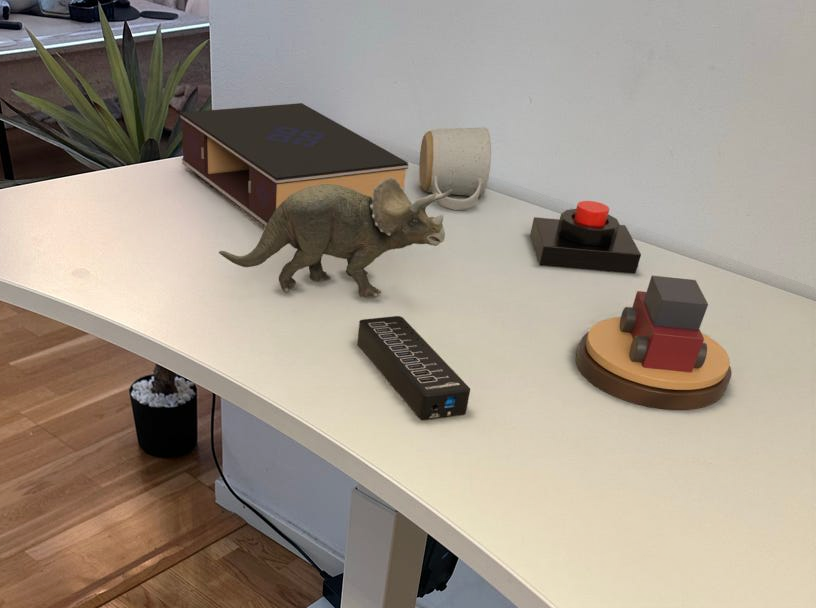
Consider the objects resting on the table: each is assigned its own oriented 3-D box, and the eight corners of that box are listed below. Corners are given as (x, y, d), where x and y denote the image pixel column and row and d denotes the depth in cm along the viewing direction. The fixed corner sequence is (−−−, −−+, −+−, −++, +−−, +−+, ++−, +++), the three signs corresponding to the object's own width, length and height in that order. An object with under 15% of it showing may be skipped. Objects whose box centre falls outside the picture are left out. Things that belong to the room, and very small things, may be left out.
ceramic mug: (414, 181, 120) (422, 116, 115) (474, 183, 121) (485, 120, 115) (426, 211, 113) (435, 144, 107) (490, 214, 113) (503, 147, 108)
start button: (602, 218, 105) (606, 202, 103) (607, 229, 102) (612, 213, 101) (571, 215, 104) (575, 199, 103) (576, 226, 102) (580, 210, 101)
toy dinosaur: (217, 295, 91) (215, 174, 83) (225, 261, 97) (224, 146, 89) (436, 311, 92) (454, 194, 84) (430, 277, 98) (447, 165, 90)
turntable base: (703, 343, 91) (709, 329, 90) (744, 415, 81) (751, 400, 80) (565, 331, 90) (569, 317, 89) (589, 402, 80) (593, 387, 79)
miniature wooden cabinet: (274, 241, 102) (276, 177, 97) (181, 170, 116) (179, 112, 112) (401, 222, 109) (408, 162, 104) (299, 157, 124) (301, 102, 119)
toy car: (742, 397, 80) (771, 327, 75) (595, 381, 80) (616, 311, 75) (709, 331, 89) (734, 266, 85) (577, 317, 89) (595, 251, 85)
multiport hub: (398, 337, 87) (401, 314, 85) (467, 414, 77) (472, 389, 76) (355, 342, 85) (357, 319, 84) (421, 421, 76) (425, 396, 74)
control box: (620, 244, 109) (630, 209, 106) (635, 274, 103) (646, 238, 100) (529, 236, 109) (537, 200, 106) (539, 265, 102) (547, 229, 100)
